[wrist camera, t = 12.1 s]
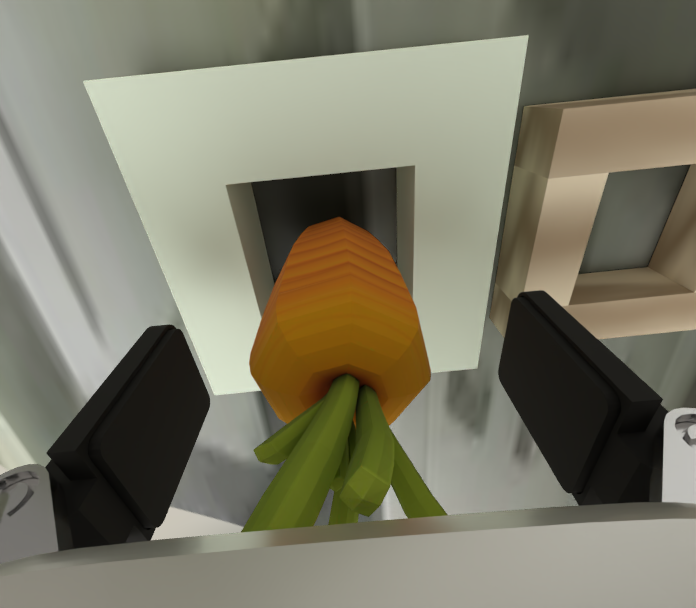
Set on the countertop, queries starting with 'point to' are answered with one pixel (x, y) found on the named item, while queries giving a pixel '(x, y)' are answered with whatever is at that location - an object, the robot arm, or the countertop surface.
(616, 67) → the countertop surface
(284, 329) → the carrot
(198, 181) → the pale green square frame
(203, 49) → the countertop surface
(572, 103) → the socket block
